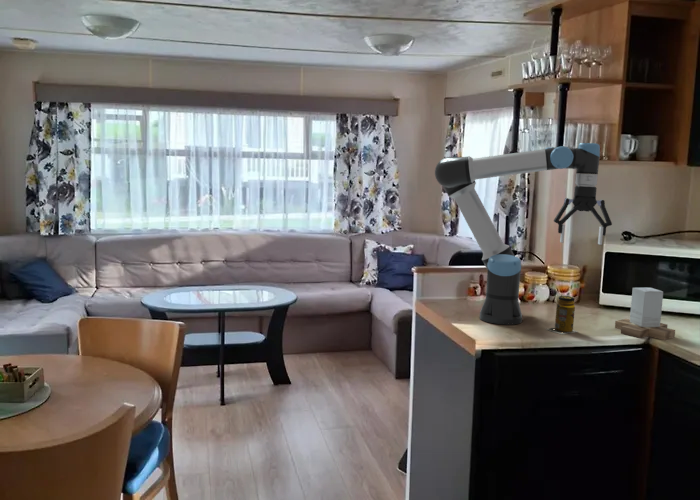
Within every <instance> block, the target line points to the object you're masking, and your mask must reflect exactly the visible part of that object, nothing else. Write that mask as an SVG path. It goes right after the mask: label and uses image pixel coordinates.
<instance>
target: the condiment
mask: <svg viewBox="0 0 700 500" xmlns="http://www.w3.org/2000/svg"><path fill="white" fill-rule="evenodd" d="M555 310H556V311H555V321H554V327H551V328H549V327H548V328H546V330H547V331H550V332H553V333H556V334H559V335H566V334H573V333H578V332H579V331H577V330H574V321H575V310H576V306H575V297H574V296H570V295H558V300H557V303H556V309H555ZM553 329H555V330H553ZM561 332H563V333H561Z"/></svg>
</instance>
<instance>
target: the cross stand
mask: <svg viewBox="0 0 700 500" xmlns="http://www.w3.org/2000/svg"><path fill="white" fill-rule="evenodd" d="M614 328H615V329H618V330H620V334H622V335H626V336H630V337H634V338H638V339H641V338H646V337H649V338H651V337H652V338H655V339H660V340H665V341H666V340H669V339H673V338H675V337H676V329H674V328H673V329H672V328H668V323H663V322H660V327H641V326H638V325H636V324H633V323H631V322H630V318H624V319H619V320H618V319H617V320H615V323H614Z"/></svg>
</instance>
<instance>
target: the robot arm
mask: <svg viewBox="0 0 700 500" xmlns="http://www.w3.org/2000/svg"><path fill="white" fill-rule="evenodd" d="M600 146H601V145H600V144H599V143H596V142H595V143H594V142H580V143H578V147H576V148H575V147H574V148H573V147H572V148H571V147H570V148H569V147H568V146H564V145H560V146H556V147H553V146H551V147H545V148H541V149H536V150H535V149H533V150H526V151H521V152H514V153H512V152H511V153H505V154H497V155H490V156H482V157H475V158H473V157H472V156H470V155H469V156H462V157H461V156H460V157H459V156H447V157H444V158H442V159H440V160H439V161H438V162H437V164H436V166H435V169H434V176H435V179H436V182H437V183H438V184H439V185H441V186H442V187H443V189H444V191H445V193H446V194H447V196H448V198H451V199H453V200H454V201H455V203H456V204H457V206H458V208H459V211H460V213H461V214H462V217H463V218H464V220H465V222H466V224H467V225H468V228H469V229H470V232H471V233H472V235H473V237H474V238H475V241H476V243H477V245H478V247H479V248H480V251H481V252H482V258H481V261H482V262H483V264H484V266H485V269H486V270H487V273H486V274H487V275H486V289H485V291H486V292H485V299H484V301H483V303H482V306H481V309H480V310H479V319H480V320H481V321H483V322H486V323H491V324H495V325H508V326H509V325H511V326H512V325H518V324H520V323H522V322H523V314H522V310H521V306H520V301H519V298H520V297H519V296H520V295H519V294H520V283H521V272H522V260H521V259H520V258H519V257H518V256H515V254H514V252H513V251H512V249H511V247H510V245H508V244H505V243H504V241H503V239H502V238H501V236H500V234H499V232H498V230H497V228H496V226H495V225H494V223H493V221H492V219H491V217H490V216H489V215H490V214H489V213H488V212H487V210H486V208H485V205H484V204H483V202H482V200H481V198H480V197H479V194H478V193H477V191H476V189H475V188H476V184H477V182H476V180H481V179H488V178H489V179H490V178H496V177H504V176H512V175H519V174H521V175H522V174H528V173H529V174H530V173H536V172H545V171H552V170H562V169H565V170H566V169H569V170H571V169H572V170H575V173H576V174H575V185H576V186H574V194H573V198H568V197H566V198H564V202H563V205H562V206H561V207H560V209H559V211H558V213H557V214H556V216H555V218H554V219H553V222H554V223H556V224H557V225H558V226H557V227H558V228H557V233H558V234H560V236H559V237H560V238H559V243H561V244H563V243H564V240H565V230H566V229H565V228H566V225H565V223H566V222H567V220H569V219H570V217H572V216H573V215H574V214H575V213H576V212H577V211H578V212H588V213H589V212H591V213H592V214H593V215H592V216H594V217H595V219H596V220H597V221H598V223H599V224H600V225H601V226H599V229H598V238H597V245H599V246H602V245H603V237H605V236H606V232H607V227H610V226H612V225H613V222H612V221H611V217H610V215H609V213H608V210H607V208H606V204H605V203H606V202H605V201H606V200H604V199H599V200H598V199H597V185H598V175H599V167H600V159H601V158H600V156H601V150H600V148H601V147H600ZM571 204H573V206H572V208H571V209H570V210H569V211H568V212H567V213H566V214H565V215H564V213H565V212H566V210H567V208H568V206H569V205H571ZM596 205H598V206H599V207H600V208H599V209H600V211H601V212H602V213H601V214H602V215H603V218H604V219H603V218H602V217H601V215H600V214H599V213H598V211H597V209H595V207H596ZM563 215H564V216H563ZM562 216H563V217H562Z"/></svg>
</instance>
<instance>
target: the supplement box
mask: <svg viewBox="0 0 700 500" xmlns="http://www.w3.org/2000/svg"><path fill="white" fill-rule="evenodd" d="M631 293H632V294H631V301H630V304H631V305H630V314H629V320H630V322H631V323H633V324H636V325H638V326H641V327H660V323H661V320H662V312H663V311H662V308H663V301H664V300H663V299H664V291H662V290H660V289H656V288H653V287H632V292H631Z"/></svg>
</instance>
